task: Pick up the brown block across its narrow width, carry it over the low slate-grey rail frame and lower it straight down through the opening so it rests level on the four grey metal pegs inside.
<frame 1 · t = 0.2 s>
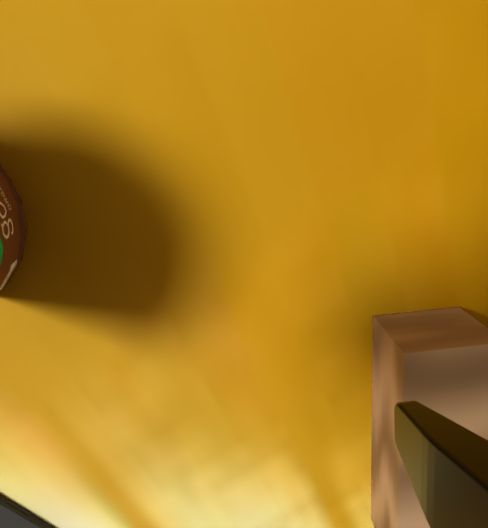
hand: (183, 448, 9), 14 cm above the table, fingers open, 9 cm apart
brown block: (409, 418, 27), on the table
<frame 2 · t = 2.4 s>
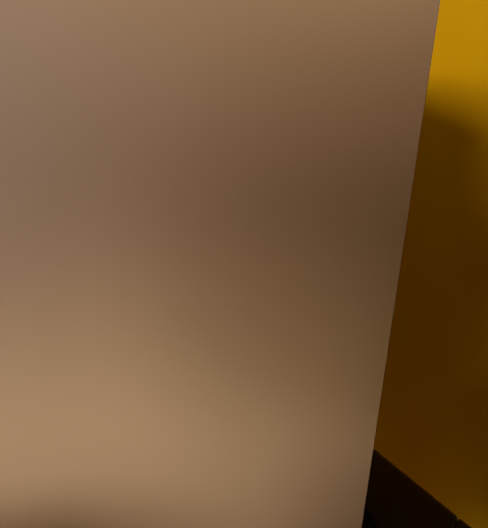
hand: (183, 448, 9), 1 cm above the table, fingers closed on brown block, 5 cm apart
brown block: (187, 410, 10), on the table, touching gripper
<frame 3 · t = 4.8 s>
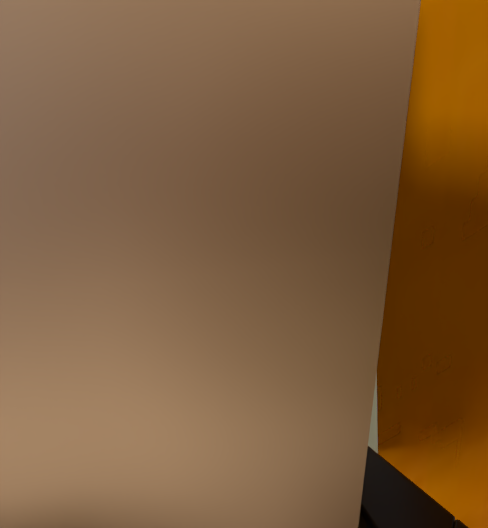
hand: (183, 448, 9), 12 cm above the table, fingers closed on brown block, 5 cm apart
brown block: (185, 411, 10), point 10 cm above the table, touching gripper
peg frame: (242, 267, 20), on the table
when the fingers open (4 cm above the table, at t = 7.0 s): brown block drops 1 cm, resting on peg frame.
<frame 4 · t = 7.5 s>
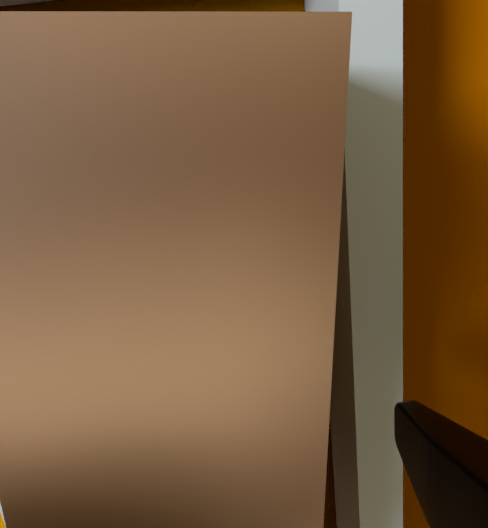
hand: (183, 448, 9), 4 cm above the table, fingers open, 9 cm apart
brown block: (188, 381, 11), point 2 cm above the table, touching peg frame
peg frame: (195, 344, 13), on the table
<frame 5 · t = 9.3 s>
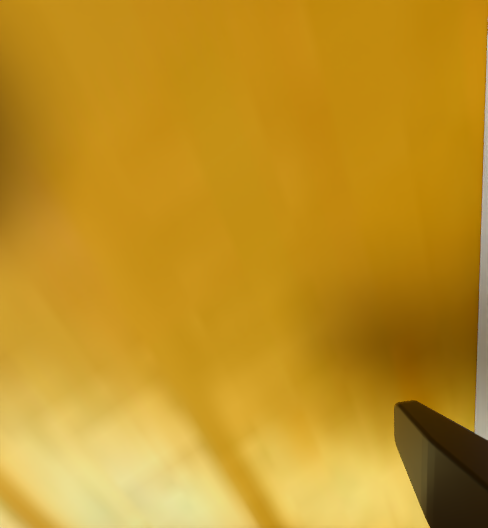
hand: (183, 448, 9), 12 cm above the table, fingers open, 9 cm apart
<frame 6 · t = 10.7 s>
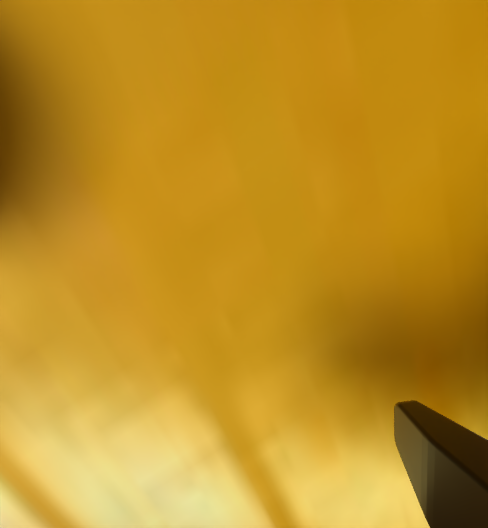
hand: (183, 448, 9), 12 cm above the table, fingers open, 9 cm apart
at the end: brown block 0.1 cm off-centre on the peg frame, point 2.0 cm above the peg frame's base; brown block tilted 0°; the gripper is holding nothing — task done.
